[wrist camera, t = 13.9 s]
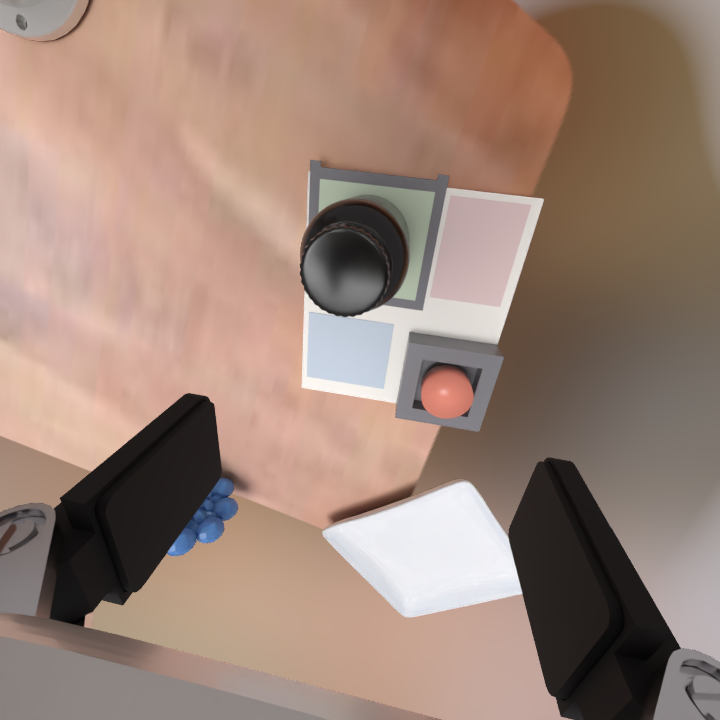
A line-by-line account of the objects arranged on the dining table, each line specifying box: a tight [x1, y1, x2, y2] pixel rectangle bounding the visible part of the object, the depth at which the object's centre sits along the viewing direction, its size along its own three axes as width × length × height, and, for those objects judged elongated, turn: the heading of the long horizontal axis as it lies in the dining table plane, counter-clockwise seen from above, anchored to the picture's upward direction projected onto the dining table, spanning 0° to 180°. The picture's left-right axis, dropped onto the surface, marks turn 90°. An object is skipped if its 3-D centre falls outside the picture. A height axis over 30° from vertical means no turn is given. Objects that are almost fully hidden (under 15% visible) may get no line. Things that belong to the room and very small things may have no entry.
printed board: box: [302, 160, 544, 403], centre depth 31 cm, size 21×18×2 cm
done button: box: [421, 365, 474, 419], centre depth 30 cm, size 4×4×2 cm
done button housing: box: [395, 332, 504, 432], centre depth 32 cm, size 8×8×2 cm
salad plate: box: [322, 479, 522, 617], centre depth 45 cm, size 21×21×3 cm
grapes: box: [167, 478, 238, 556], centre depth 41 cm, size 12×7×12 cm, turn 58°
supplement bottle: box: [300, 195, 410, 317], centre depth 23 cm, size 7×7×12 cm
